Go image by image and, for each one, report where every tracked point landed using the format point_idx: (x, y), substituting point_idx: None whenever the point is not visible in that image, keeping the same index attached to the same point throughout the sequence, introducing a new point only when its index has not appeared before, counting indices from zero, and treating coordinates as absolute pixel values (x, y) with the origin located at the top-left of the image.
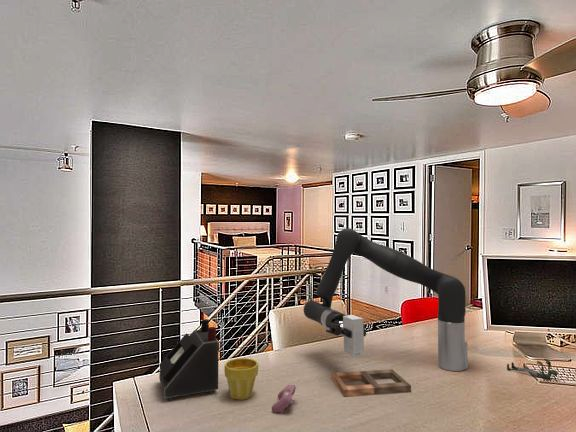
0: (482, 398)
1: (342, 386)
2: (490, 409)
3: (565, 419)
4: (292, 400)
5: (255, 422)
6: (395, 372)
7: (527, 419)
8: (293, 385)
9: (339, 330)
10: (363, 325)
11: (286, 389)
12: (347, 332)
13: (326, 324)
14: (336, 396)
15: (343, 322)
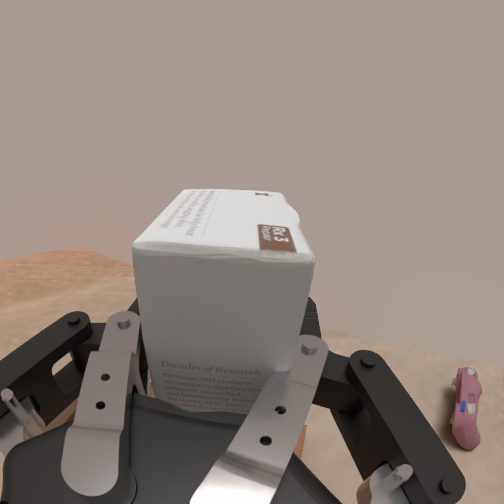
0: (52, 298)
1: (298, 447)
2: (86, 283)
3: (65, 251)
4: (453, 379)
5: (489, 373)
6: (45, 427)
7: (89, 262)
8: (465, 402)
9: (343, 364)
10: (81, 316)
11: (476, 377)
12: (308, 297)
13: (461, 483)
14: (323, 442)
15: (300, 324)
